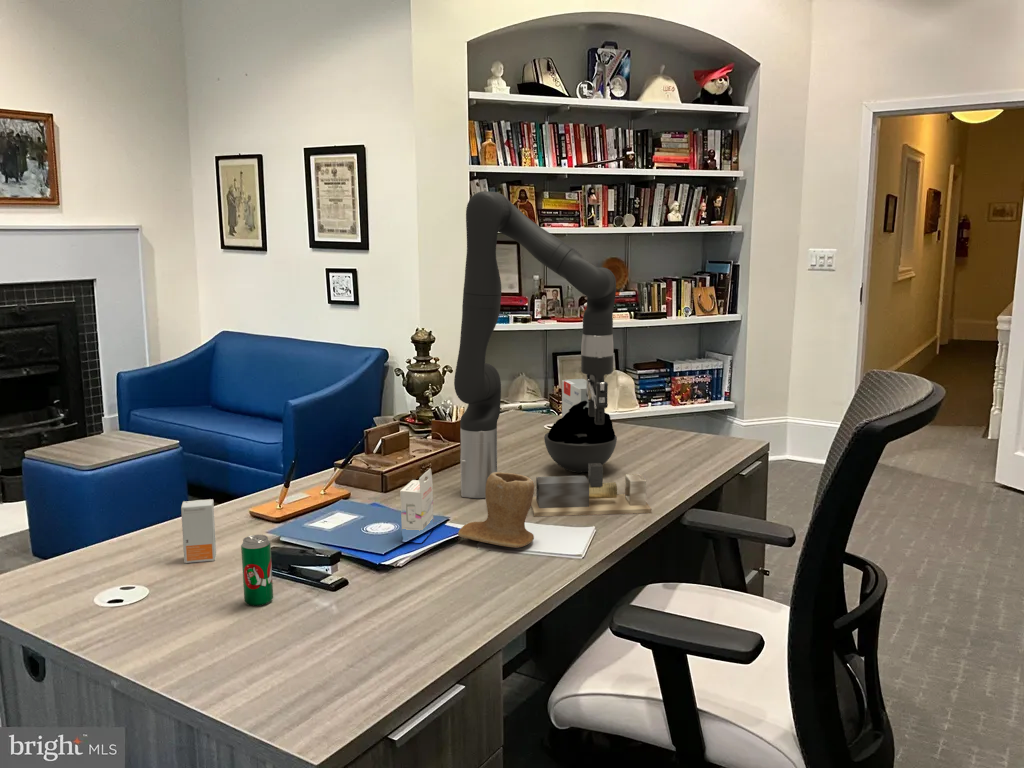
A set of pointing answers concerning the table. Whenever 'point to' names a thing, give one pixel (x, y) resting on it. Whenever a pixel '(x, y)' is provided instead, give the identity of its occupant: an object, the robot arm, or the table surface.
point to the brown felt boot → (504, 512)
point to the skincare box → (198, 531)
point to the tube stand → (586, 497)
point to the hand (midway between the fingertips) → (596, 420)
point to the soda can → (257, 570)
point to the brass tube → (599, 483)
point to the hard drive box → (573, 393)
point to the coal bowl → (580, 440)
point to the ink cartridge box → (417, 503)
